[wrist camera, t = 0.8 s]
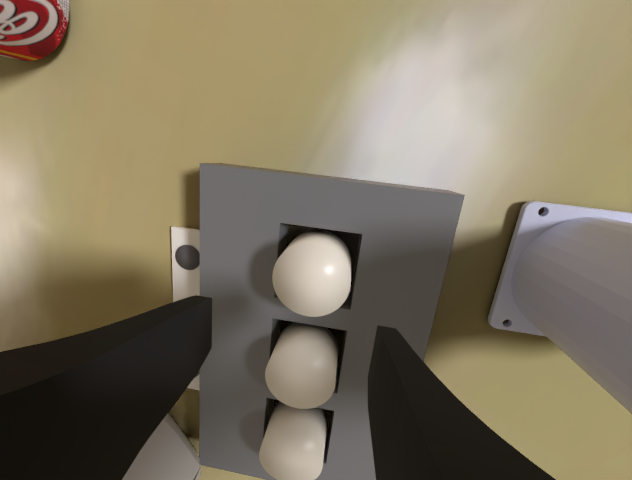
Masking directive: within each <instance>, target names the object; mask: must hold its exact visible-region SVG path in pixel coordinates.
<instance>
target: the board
mask: <svg viewBox="0 0 632 480" xmlns="http://www.w3.org/2000/svg"><path fill="white" fill-rule="evenodd" d="M464 196H465V195H462V194H459V193H456V192H452V191H448V190H440V189H432V188H423V187H415V186H406V185H398V184H390V183H381V182H373V181H365V180H356V179H348V178H340V177H331V176H323V175H314V174H306V173H298V172H289V171H281V170H273V169H264V168H256V167H248V166H239V165H231V164H222V163H200V296H204V297H210V298H212V348H211V350H210V352H209V354H208V356H207V357H206V359H205V361H204V363H203V365H202V366H201V368H200V370H199V465H204V466H208V467H213V468H217V469H222V470H226V471H230V472H235V473H239V474H244V475H248V476H253V477H257V478H262V479H266V480H276V479H275V478H273V477H272V476H270V475H269V474H268V473H267V472H266V471H265V470H264V468H263V467H262V465H261V462H260V459H259V451H260V448H261V445H262V442H263V439H264V436H265V433H266V430H267V427H268V424H269V420H270V417H271V414H272V411H273V400H274V399H276V400H278V399H277V398H276V397H275V396H274V395H273V394H272V393H271V392H270V390H269V388H268V386H267V383H266V379H265V371H266V367H267V364H268V362H269V360H270V357H271V355H272V353H273V350H274V348H275V346H276V343H277V341H278V339H279V330H280V320H286V321H292V322H298V323H304V324H310V325H316V326H322V327H327V328H333V329H339V330H345V334H344V340H343V346H342V353H341V359H340V366H339V367H337V371H336V382H335V389H334V392H333V394H332V396H331V397H330V398H329V400H328V401H326V402H325V403H324V404H322V405H320V406H318V407H316V408H322V409H327V410H332V417H331V423H330V430H329V432H327V431H326V440H325V450H324V459H323V468H322V471H321V473H320V475H319V476H318V477H317V478H316V479H315V480H376V475H375V466H374V457H373V449H372V440H371V432H370V423H369V414H368V373H369V367H370V362H371V357H372V351H373V346H374V341H375V336H376V330H377V325H379V326H385V327H391V328H396V329H397V330H398V331H399V332H400V334H401V335H402V336H403V337H404V339H405V340H406V341H407V343H408V344H409V345H410V346H411V347H412V349H413V350H414V351H415V352H416V354H417V355H418V356H419V357H420V358H421V360H422V361H424V357H425V353H426V349H427V345H428V341H429V337H430V333H431V329H432V325H433V321H434V317H435V313H436V309H437V305H438V301H439V297H440V293H441V289H442V284H443V280H444V276H445V272H446V268H447V264H448V260H449V256H450V252H451V248H452V244H453V240H454V236H455V232H456V228H457V224H458V220H459V216H460V212H461V208H462V204H463V200H464ZM289 224H292V225H299V226H307V227H314V228H321V229H329V230H336V231H343V232H350V233H358V234H360V237H359V244H358V250H357V257H356V263H355V270H354V276H353V282H352V289H351V292H349V294H348V297H347V299H346V300H345V302H344V303H343V304H342V305H341V306H340V307H339V308H338V309H337V310H335V311H334V312H332V313H330V314H327V315H324V316H319V317H309V316H303V315H300V314H297V313H295V312H293V311H292V310H290V309H289V308H287V307H286V306H285V305H284V304H283V303H282V302H281V301H280V299H279V298H278V296H277V294H276V292H275V290H274V287H273V281H272V274H273V269H274V266H275V264H276V261H277V260H278V258H279V257H280V256H281V254H282V253H283V252H284V251H285V249H286V248H287V238H288V226H289Z"/></svg>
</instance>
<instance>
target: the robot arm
mask: <svg viewBox="0 0 632 480" xmlns="http://www.w3.org/2000/svg"><path fill="white" fill-rule="evenodd" d="M542 207H543V208H544V212H543V214H541V215H539V214H538V211H539V209H540V208H542ZM508 319H509V320H508ZM504 320H508V322H507V323H505V324H503V321H504ZM488 323H489V324H490V325H491V326H492V327H493V328H496V329H502V330H508V331H514V332H520V333H527V334H533V335H539V336H545V337H547V338H549V339H550V340H551V341H552V342H553V343H554V344H555V345H556V346H557V347H559V348H560V349H561V350H562V351H563V352H564V353H565V354H566V355H567V356H568V357H570V358H571V359H572V360H573V361H574V362H575V363H576V364H577V365H578V366H579V367H581V368H582V369H583V370H584V371H585V372H586V373H587V374H588V375H589V376H590V377H592V378H593V379H594V380H595V381H596V382H597V383H598V384H599V385H600V386H602V387H603V388H604V389H605V390H606V391H607V392H608V393H609V394H610V395H611V396H613V397H614V398H615V399H616V400H617V401H618V402H619V403H620V404H621V405H622V406H624V407H625V408H626V409H627V410H628V411H629V412H630V413H631V414H632V213H630V212H622V211H614V210H605V209H597V208H588V207H580V206H572V205H563V204H555V203H547V202H538V201H528V202H526V203H525V204H524V205H523V206H522V208H521V210H520V213H519V217H518V220H517V223H516V227H515V230H514V233H513V236H512V240H511V243H510V246H509V250H508V253H507V256H506V260H505V263H504V266H503V269H502V273H501V276H500V279H499V283H498V286H497V289H496V292H495V296H494V299H493V302H492V306H491V309H490V312H489V316H488ZM211 348H212V298H210V297H204V296H198V295H195V296H191V297H187V298H184V299H181V300H178V301H175V302H173V303H170V304H167V305H164V306H162V307H159V308H156V309H153V310H151V311H148V312H145V313H143V314H140V315H137V316H134V317H131V318H128V319H125V320H122V321H119V322H116V323H113V324H110V325H107V326H104V327H101V328H98V329H95V330H91V331H88V332H84V333H81V334H77V335H73V336H70V337H66V338H62V339H58V340H54V341H50V342H46V343H41V344H36V345H32V346H27V347H22V348H17V349H13V350H8V351H3V352H0V480H122V479H123V477H124V476H125V474H126V473H127V471H128V469H129V468H130V466H131V465H132V463H133V461H134V460H135V458H136V457H137V455H138V453H139V452H140V450H141V449H142V448H143V446H144V445H145V443H146V442H147V440H148V439H149V438H150V436H151V435H152V433H153V432H154V431H155V429H156V428H157V427H158V425H159V424H160V423H161V421H162V420H163V419H164V417H165V416H166V415H167V414H168V412H169V411H170V410H171V408H172V407H173V406H174V404H175V403H176V402H177V400H178V399H179V398H180V396H181V395H182V394H183V392H184V391H185V390H186V388H187V387H188V386H189V384H190V383H191V381H192V380H193V379H194V377H195V376H196V375H197V373H198V371H199V370H200V368H201V366H202V365H203V363H204V361H205V359H206V357H207V356H208V354H209V352H210V350H211ZM368 414H369V423H370V432H371V440H372V449H373V457H374V466H375V475H376V480H556V479H554V478H553V477H551V476H550V475H549V474H547V473H546V472H545V471H543V470H542V469H541V468H539V467H538V466H537V465H535V464H534V463H533V462H531V461H530V460H529V459H527V458H526V457H525V456H524V455H522V454H521V453H520V452H519V451H517V450H516V449H515V448H514V447H512V446H511V445H510V444H508V443H507V442H506V441H505V440H503V439H502V438H501V437H500V436H499V435H497V434H496V433H495V432H494V431H493V430H491V429H490V428H489V427H488V426H487V425H486V424H485V423H483V422H482V421H481V420H480V419H479V418H478V417H477V416H476V415H475V414H473V413H472V412H471V411H470V410H469V409H468V408H467V407H466V406H465V405H464V404H463V403H462V402H461V401H459V400H458V399H457V398H456V397H455V396H454V395H453V394H452V393H451V391H450V390H449V389H448V388H447V387H446V386H445V385H444V384H443V383H442V382H441V381H440V380H439V379H438V378H437V377H436V376H435V375H434V373H433V372H432V371H431V370H430V369H429V368H428V367H427V366H426V364H425V363H424V362H423V361H422V360H421V358H420V357H419V356H418V355H417V354H416V352H415V351H414V350H413V349H412V347H411V346H410V345H409V344H408V343H407V341H406V340H405V339H404V337H403V336H402V335H401V334H400V332H399V331H398V330H397V329H396V328H391V327H385V326H379V325H377V330H376V336H375V341H374V346H373V351H372V357H371V362H370V367H369V373H368Z"/></svg>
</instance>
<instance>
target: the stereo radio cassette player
mask: <svg viewBox="0 0 632 480" xmlns="http://www.w3.org/2000/svg"><path fill="white" fill-rule="evenodd" d="M201 468H202V467H201V465H199V457H198V455H197V453H196V450H195V449H194V447H193V446H192V444H191V443H190V441H189V440H188V438H187V437H186V436H185V434H184V433H183V432H182V430H181V429H180V428H179V426H178V425H177V424H176V422H175V421H174V420H173V418H172V417H171V416H170V415H169V414H167V415H166V416H165V417H164V419H163V420H162V421H161V423H160V424H159V425H158V427H157V428H156V429H155V431H154V432H153V433H152V435H151V436H150V438H149V439H148V440H147V442H146V443H145V445H144V446H143V448H142V449H141V450H140V452H139V453H138V455H137V457H136V458H135V460H134V461H133V463H132V465H131V466H130V468H129V469H128V471H127V473H126V474H125V476H124V477H123V479H122V480H198V479H199V476H200V474H201Z"/></svg>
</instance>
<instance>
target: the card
mask: <svg viewBox="0 0 632 480" xmlns="http://www.w3.org/2000/svg"><path fill="white" fill-rule="evenodd" d="M171 236H172V274H173V302H175V301H178V300H181V299H184V298H187V297H191V296H195V295H198V296H200V229H193V228H186V227H179V226H172V227H171ZM187 388H189V389H194V390H199V371H198V373H197V375H196V376H195V377H194V379H193V380H192V381H191V383H190V384H189V386H188V387H187Z"/></svg>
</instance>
